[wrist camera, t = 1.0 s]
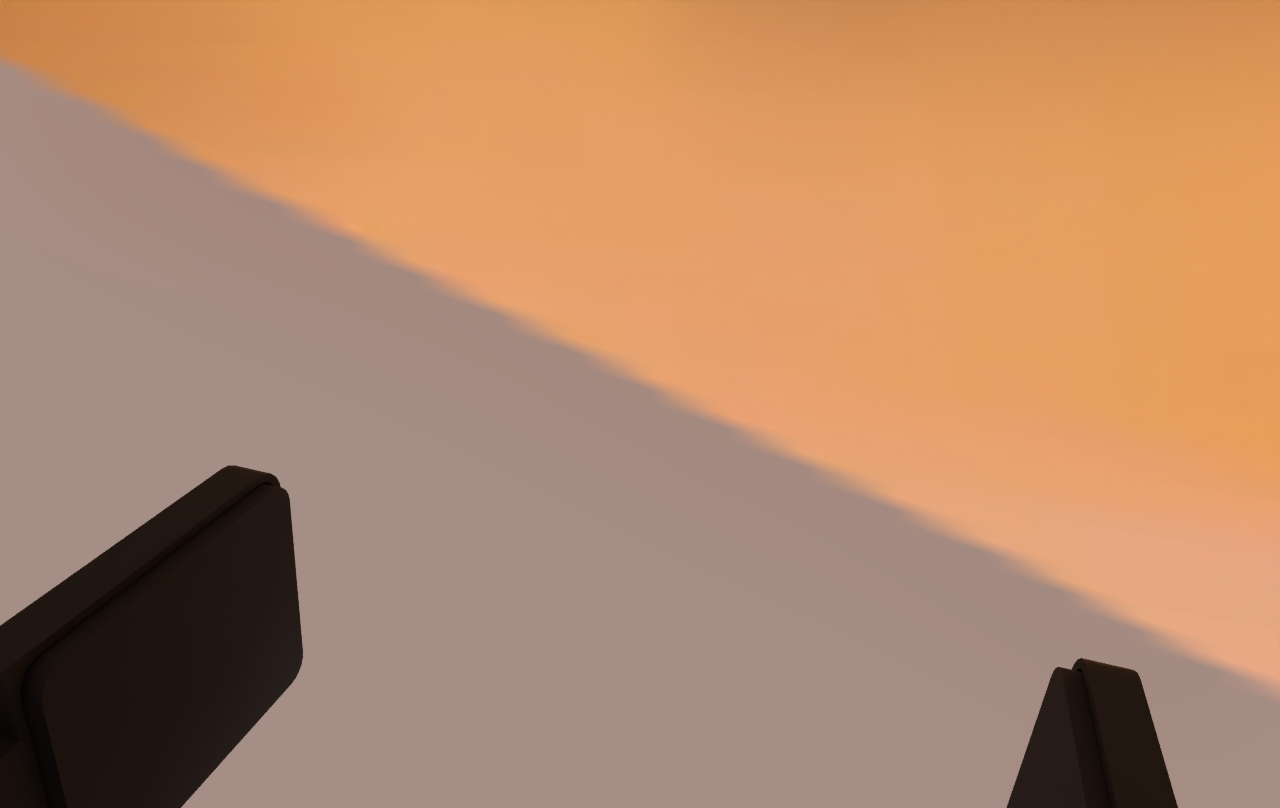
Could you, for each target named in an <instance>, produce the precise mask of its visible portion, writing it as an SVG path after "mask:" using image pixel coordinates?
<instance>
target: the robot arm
mask: <svg viewBox="0 0 1280 808" xmlns="http://www.w3.org/2000/svg"><path fill="white" fill-rule="evenodd" d="M302 659H303V648H302V636H301V625H300V613H299V601H298V591H297V579H296V568H295V556H294V544H293V532H292V521H291V510H290V499H289V495H288V493H287V491H286V490H284V489H283V488H281V487H280V483H279V481H278V479H277V478H276V477H275V476H274V475H272V474H270V473H265V472H261V471H256V470H252V469H248V468H243V467H239V466H227V467H225V468H223V469H221V470H220V471H218V472H217V473H215V474H214V475H212V476H211V477H210V478H208V479H207V480H206V481H204V482H203V483H201V484H200V485H198V486H197V487H196V488H194V489H193V490H191V491H190V492H189V493H187V494H186V495H184V496H183V497H181V498H180V499H179V500H177V501H176V502H174V503H173V504H172V505H170V506H169V507H167V508H166V509H164V510H163V511H162V512H160V513H159V514H157V515H156V516H155V517H153V518H152V519H150V520H149V521H148V522H146V523H145V524H144V525H142V526H140V527H139V528H138V529H136V530H135V531H133V532H132V533H131V534H129V535H128V536H126V537H125V538H124V539H122V540H121V541H119V542H118V543H116V544H115V545H114V546H112V547H111V548H110V549H108V550H107V551H105V552H104V553H102V554H101V555H99V556H98V557H97V558H95V559H94V560H93V561H91V562H90V563H88V564H87V565H86V566H84V567H83V568H81V569H80V570H78V571H77V572H76V573H74V574H73V575H71V576H70V577H68V578H67V579H66V580H64V581H63V582H61V583H60V584H59V585H57V586H56V587H54V588H53V589H51V591H49V592H47V593H46V594H44V595H43V596H42V597H40V598H39V599H37V600H36V601H35V602H33V603H32V604H30V605H29V606H27V607H26V608H25V609H23V610H22V611H20V612H19V613H18V614H16V615H15V616H13V617H12V618H11V619H9V620H8V621H6V622H5V623H4V624H2V625H1V626H0V808H181V807H182V806H183V805H184V804H185V802H186V801H187V800H188V799H189V798H190V797H191V796H192V795H193V793H194V792H195V791H196V790H197V789H198V787H200V786H201V784H202V783H203V782H204V781H205V780H206V779H207V778H208V777H209V775H210V774H211V773H212V772H213V771H214V770H215V769H216V768H217V767H218V765H219V764H220V763H221V762H222V761H223V760H224V759H225V758H226V756H227V755H228V754H229V753H230V752H231V751H232V750H233V749H234V748H235V746H236V745H237V744H238V743H239V742H240V741H241V740H242V739H243V737H244V736H245V735H246V734H247V733H248V732H249V731H250V730H251V728H252V727H253V726H254V725H255V724H256V723H257V722H258V721H259V720H260V718H261V717H262V716H263V715H264V714H265V713H266V712H267V710H268V709H269V708H270V707H271V706H272V705H273V704H274V703H275V702H276V700H277V699H278V698H279V697H280V696H281V695H282V694H283V693H284V692H285V690H286V689H287V688H288V687H289V686H290V685H291V684H292V682H293V680H295V678H296V676H297V674H298V672H299V670H300V667H301V664H302ZM1007 808H1178V806H1177V803H1176V800H1175V796H1174V793H1173V789H1172V786H1171V782H1170V779H1169V775H1168V772H1167V769H1166V765H1165V762H1164V758H1163V755H1162V751H1161V748H1160V744H1159V741H1158V738H1157V734H1156V731H1155V728H1154V724H1153V721H1152V718H1151V714H1150V710H1149V707H1148V703H1147V700H1146V697H1145V693H1144V690H1143V686H1142V683H1141V679H1140V677H1139V675H1138V673H1137V672H1136V671H1134V670H1131V669H1127V668H1122V667H1118V666H1113V665H1108V664H1105V663H1100V662H1095V661H1091V660H1087V659H1082V658H1080V659H1078V660H1077V661H1076V662H1075V664H1074V666H1073V668H1072V670H1070V669H1065V668H1061V667H1057V668H1056V669H1055V670H1054V671H1053V674H1052V677H1051V679H1050V682H1049V685H1048V688H1047V691H1046V694H1045V696H1044V699H1043V702H1042V705H1041V708H1040V711H1039V714H1038V717H1037V720H1036V723H1035V726H1034V729H1033V732H1032V735H1031V738H1030V741H1029V744H1028V747H1027V750H1026V752H1025V755H1024V758H1023V761H1022V764H1021V767H1020V770H1019V773H1018V776H1017V779H1016V782H1015V785H1014V788H1013V791H1012V793H1011V796H1010V800H1009V803H1008V805H1007Z"/></svg>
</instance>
